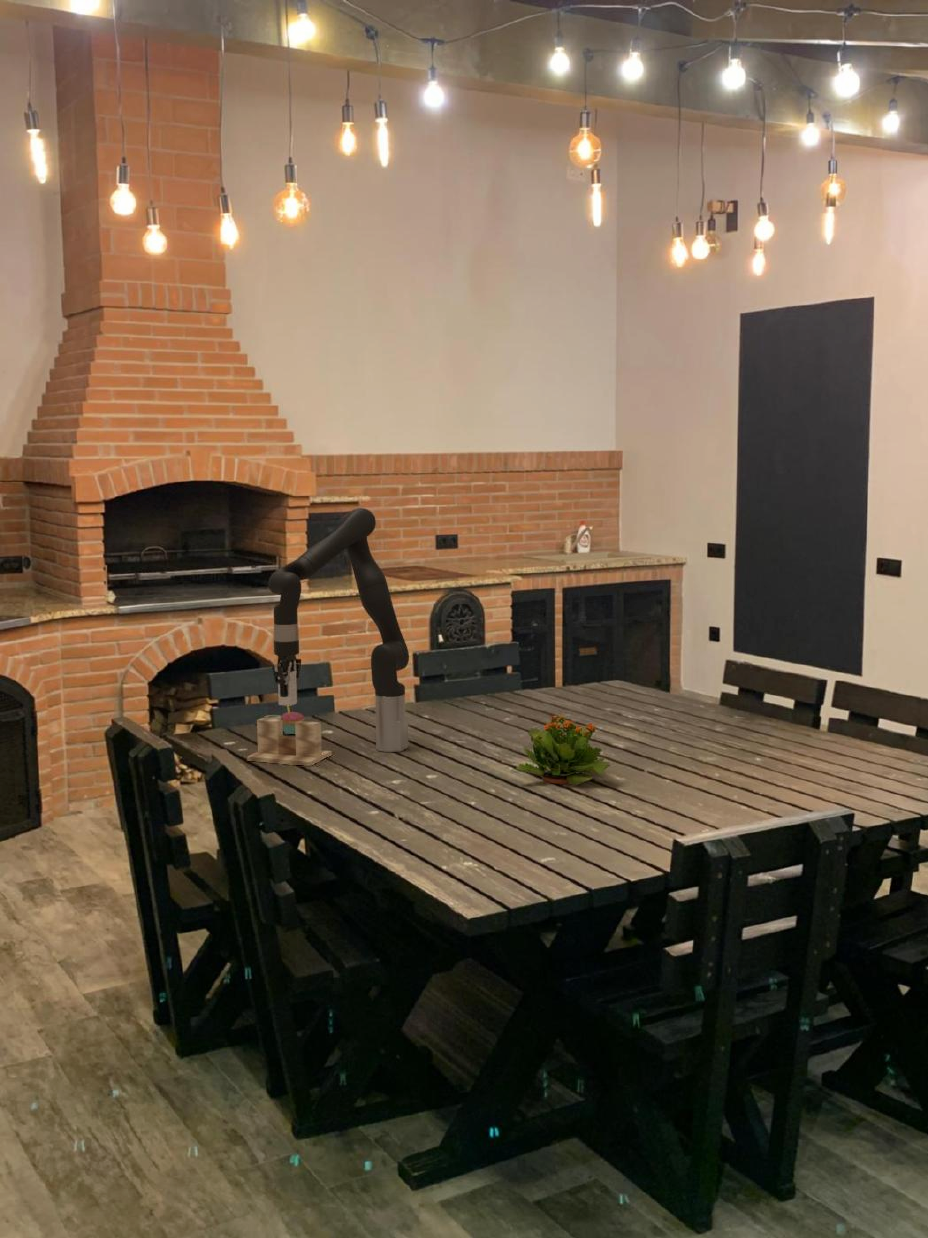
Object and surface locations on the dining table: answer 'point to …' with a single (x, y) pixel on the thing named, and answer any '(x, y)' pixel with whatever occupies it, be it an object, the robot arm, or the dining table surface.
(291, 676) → the grey square bottle
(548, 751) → the potted flower
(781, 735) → the dining table surface
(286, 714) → the cupcake
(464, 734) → the dining table surface
